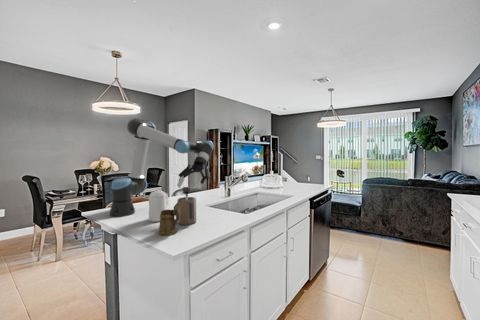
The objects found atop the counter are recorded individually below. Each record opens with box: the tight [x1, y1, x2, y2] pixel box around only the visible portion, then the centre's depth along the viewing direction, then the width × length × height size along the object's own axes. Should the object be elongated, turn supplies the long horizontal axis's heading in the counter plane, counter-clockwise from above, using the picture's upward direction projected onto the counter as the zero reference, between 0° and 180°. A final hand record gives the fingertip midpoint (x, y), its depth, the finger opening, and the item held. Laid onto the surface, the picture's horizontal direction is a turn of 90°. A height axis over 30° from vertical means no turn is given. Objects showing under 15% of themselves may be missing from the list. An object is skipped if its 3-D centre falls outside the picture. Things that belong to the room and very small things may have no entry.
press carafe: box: [176, 196, 197, 226], centre depth 134 cm, size 12×10×14 cm
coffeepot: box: [144, 188, 169, 223], centre depth 141 cm, size 11×25×19 cm, turn 168°
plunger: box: [182, 186, 191, 200], centre depth 135 cm, size 6×6×18 cm
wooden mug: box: [157, 199, 183, 237], centre depth 117 cm, size 9×14×18 cm, turn 73°
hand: (188, 187), depth 136 cm, fingers open, 13 cm apart
